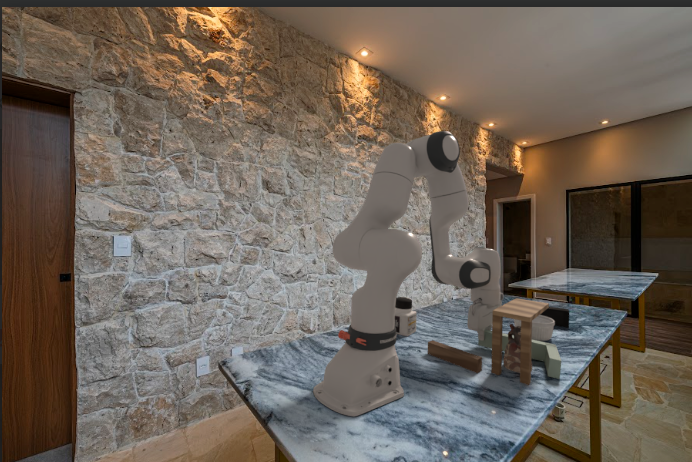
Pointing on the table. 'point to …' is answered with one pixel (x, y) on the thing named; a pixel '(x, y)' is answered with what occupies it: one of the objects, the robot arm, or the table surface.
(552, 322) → the ramekin
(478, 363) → the stick
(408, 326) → the container
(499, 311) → the shelf
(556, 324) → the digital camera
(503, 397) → the table surface
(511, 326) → the figurine
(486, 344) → the sage green l-bracket
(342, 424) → the table surface
